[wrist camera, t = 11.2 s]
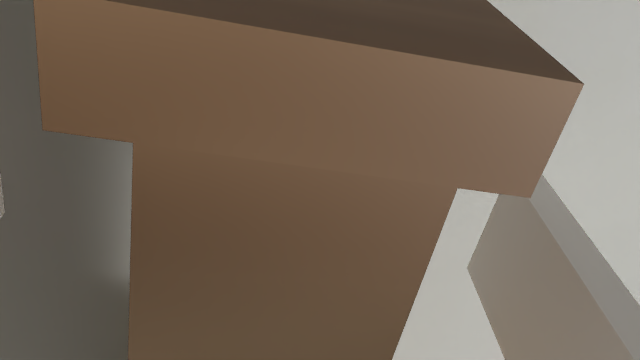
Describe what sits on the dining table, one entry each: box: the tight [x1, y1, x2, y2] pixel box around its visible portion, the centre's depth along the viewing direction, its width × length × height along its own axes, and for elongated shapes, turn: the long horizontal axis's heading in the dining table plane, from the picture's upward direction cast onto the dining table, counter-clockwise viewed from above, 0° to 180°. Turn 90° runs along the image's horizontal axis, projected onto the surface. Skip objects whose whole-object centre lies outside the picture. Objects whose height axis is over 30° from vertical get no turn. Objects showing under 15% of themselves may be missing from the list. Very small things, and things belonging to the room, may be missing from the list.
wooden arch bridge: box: [33, 0, 584, 360], centre depth 12 cm, size 16×4×8 cm, turn 169°
